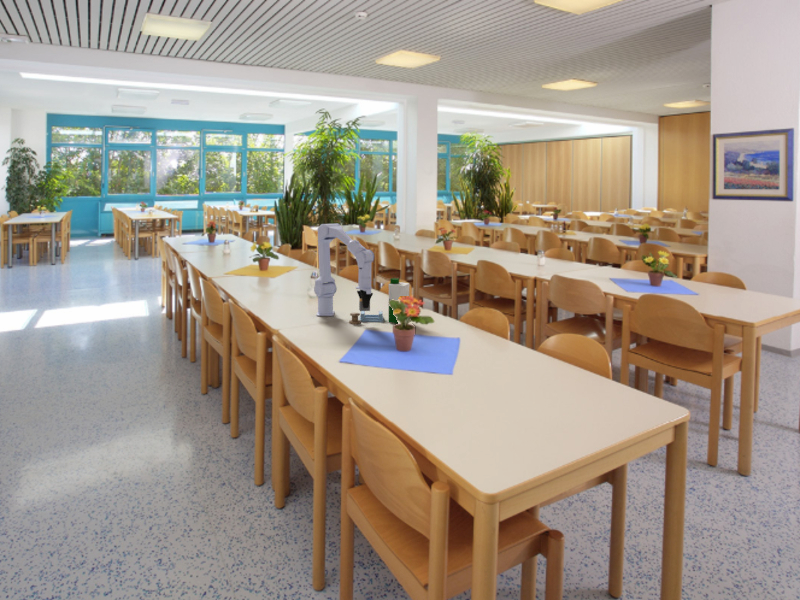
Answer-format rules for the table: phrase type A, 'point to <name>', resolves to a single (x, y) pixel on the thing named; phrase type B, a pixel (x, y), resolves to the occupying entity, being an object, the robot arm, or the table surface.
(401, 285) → the soya milk
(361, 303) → the orange and grey block
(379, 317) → the blue square socket
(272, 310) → the table surface
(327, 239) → the robot arm
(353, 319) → the bobbin
